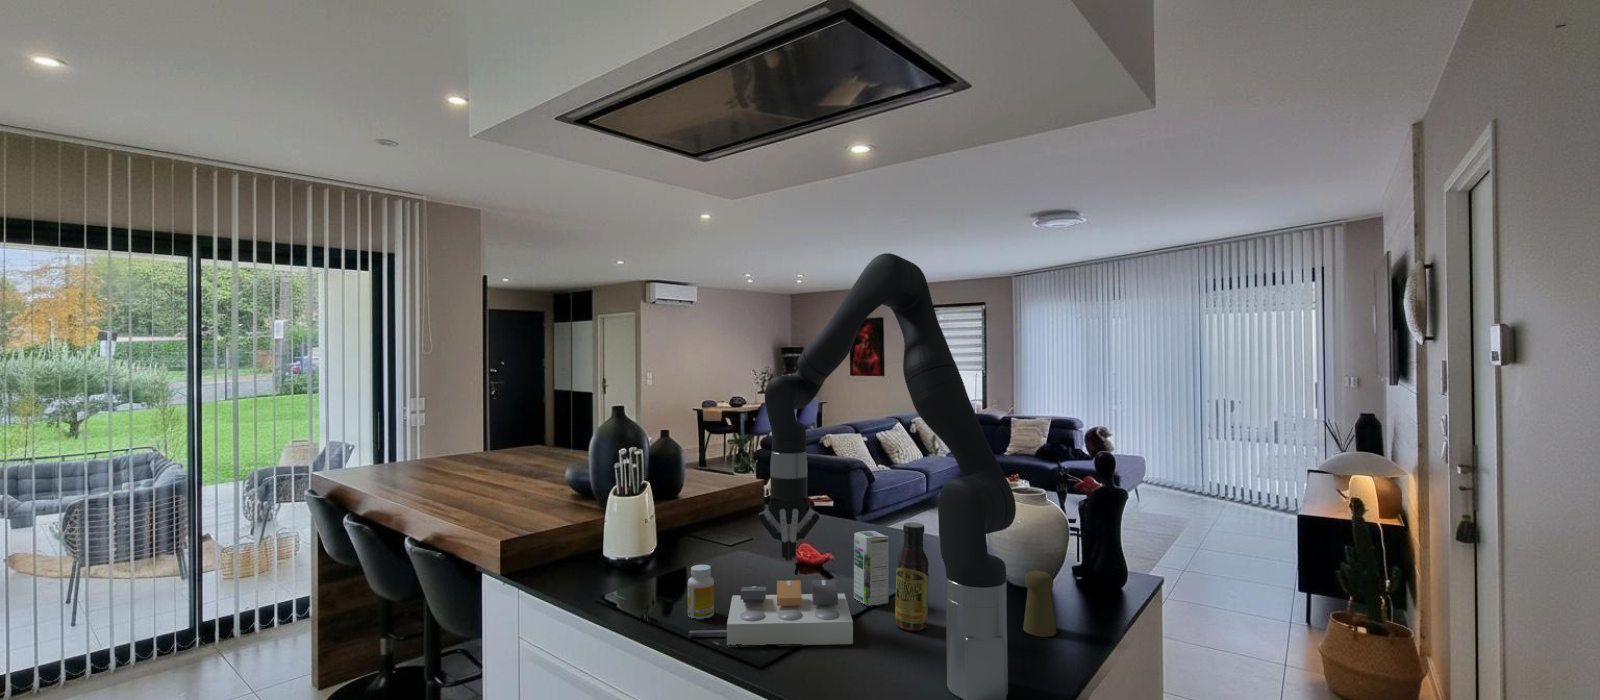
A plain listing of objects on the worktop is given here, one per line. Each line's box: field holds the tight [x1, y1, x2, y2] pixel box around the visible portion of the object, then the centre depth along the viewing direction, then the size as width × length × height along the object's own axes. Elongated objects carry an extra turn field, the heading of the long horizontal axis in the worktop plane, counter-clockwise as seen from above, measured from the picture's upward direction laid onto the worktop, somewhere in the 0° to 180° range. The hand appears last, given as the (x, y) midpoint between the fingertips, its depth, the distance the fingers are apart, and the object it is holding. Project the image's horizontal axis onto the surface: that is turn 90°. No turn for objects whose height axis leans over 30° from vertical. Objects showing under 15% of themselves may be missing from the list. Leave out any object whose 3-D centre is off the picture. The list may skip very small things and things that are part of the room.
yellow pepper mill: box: [1022, 570, 1057, 638], centre depth 125 cm, size 6×6×11 cm
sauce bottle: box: [894, 521, 930, 632], centre depth 127 cm, size 6×6×20 cm
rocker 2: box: [776, 579, 803, 606], centre depth 128 cm, size 6×5×3 cm
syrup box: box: [853, 530, 889, 606], centre depth 141 cm, size 6×6×14 cm
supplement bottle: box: [687, 564, 715, 620], centre depth 133 cm, size 5×5×10 cm
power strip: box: [688, 593, 854, 646], centre depth 126 cm, size 15×30×4 cm, turn 92°
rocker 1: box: [740, 585, 767, 603], centre depth 128 cm, size 6×5×3 cm
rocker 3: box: [810, 579, 838, 605], centre depth 129 cm, size 6×5×3 cm
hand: (788, 559), depth 131 cm, fingers closed
